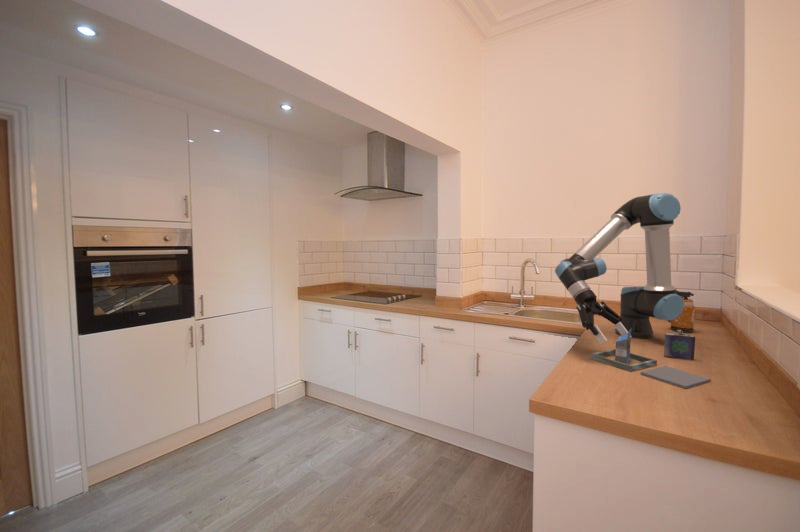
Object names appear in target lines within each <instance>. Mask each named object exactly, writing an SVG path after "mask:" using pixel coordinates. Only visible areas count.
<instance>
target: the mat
mask: <svg viewBox="0 0 800 532" xmlns="http://www.w3.org/2000/svg"><path fill="white" fill-rule="evenodd" d="M640 375H641V376H644V377H648V378H651V379H653V380H657V381H660V382H663V383H665V384H668V385H669V384H670V385H672V386H676V387H678V388H681V389H685V390H686V389H690V388H693V387H696V386H700V385H704V384H707V383H710V382H711V380H712V378H709V377H705V376H702V375H699V374H695V373H691V372H688V371H685V370H681V369H678V368H674V367H670V366H668V365H664V366H660V367H656V368H651V369H648V370H644V371H640ZM709 381H710V382H709ZM706 382H707V383H706Z"/></svg>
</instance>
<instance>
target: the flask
mask: <svg viewBox="0 0 800 532" xmlns="http://www.w3.org/2000/svg"><path fill="white" fill-rule="evenodd" d="M677 331H678V332H677ZM677 331H676V333H665V334H664V346H663V347H664V350H663V357H665V358H670V359H677V358H679V360H681V359H682V360H687V359H689V361H694V360H695V346H696V336H694V335H692V334H690V333H687V334H686V333H684V332H681V331H682V330H677Z"/></svg>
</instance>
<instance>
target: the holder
mask: <svg viewBox="0 0 800 532" xmlns="http://www.w3.org/2000/svg"><path fill="white" fill-rule="evenodd" d="M615 349H616V348H614V349H608V350H604V351H599V352H592V353H590V354H589V357H590V358H589V359H591V360H593V361H596V362H599V363H603V364H605V363H606V364H605V365H608V364H609V366H611V365H612V367H615V368H618V369H622V370H624V371H628V372H633V371H639V370H642V369H647V368H651V367H655V366H658V360H657V359H654V358H649V357H646V356H644V355H641V354H635V353H633V352H630V360H634V361H637V360H638V363H637V362H636V363H633V364H629V363H628V364H624V363H621V362H618V361H615V359H611V358H608V357H611V355H612V356H615ZM606 356H607V357H606Z"/></svg>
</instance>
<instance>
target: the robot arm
mask: <svg viewBox="0 0 800 532" xmlns="http://www.w3.org/2000/svg"><path fill="white" fill-rule="evenodd" d="M680 203H681V202H680V201H679V199H678V198H677V197H676V196H675V195H674V194H672V193H667V192H659V193H658V192H657V193H654V194H646V195H643V196H640V195H639V196H637V197H633V198H632V199H630V200H628V201H626V202H625V203H624V204H622V205H621V206H620V207H619V208H617V209H616V210H615V211H614V212H613V213H612V214H611V215H610V219H609V220H608V221H607V222H606V223H605V224H604V225H603V226H601V228H599V230H598V231H597V232H596V233H594V234H593V236H591V237H590V238H589V239H587V241H586V242H585V243H584V244H583V245H582V246H581V247H580V248H579V249H577V251H575V253H573V254H572V255H571V256H570V257H569V258H564V259H562V260H561V261H560V262H559V264H557V266H556V267H555V269H554V273H555V274H556V276H557V278H558V280H559V281H560V282H561V283H562V285H563V287H565V289H566V290H567V291H568V293H569V295H570V296H571V297H572V298H573V299H574V301H575V303H576V304H577V306H576V307H575V308H576V309H577V312H578V315H579V318H580V321H581V325H582V327H583V328H584V329H586V330H587V331H588V330H590V331H591V333H592V335H593V336H594V337H595V338H596V340H597V341H598V342H599V344H600V345H603V344H605V343H606V342H607V341H608V338H606V336H605V335H604V334H603V332H602V331H601V329H600V328H599V327H598V325H597V324H595V315H596V316H599V317H602V318H604V319H605V320H607V321H609V322H610V323H612V324H614V325H613V326H614V329H615V333H616V334H617V335H619V334H620V336H624V335H628V332H629V330H630V329H631V328H632V329H631V338H635V339H652V338H653V337H654V330H653V327H652V323H651V321H650V318H655V319H657V320H661V321H667V320H673V319H675V318H677V317H678V316H679V314H681V312H682V311H683V308H684V301H683V299H682V298H681V297H680V296H679V295H677V294H676V291H677V288H676V286H674V285H673V284H672V265H671V261H672V260H671V240H670V239H671V237H670V235H671V234H670V229H671V227H672V226H673V225H675V222H674V221H675V220H676V219H677V218H678V217H679V215H680V214H681V211H682V210H681V204H680ZM639 223H640V224H639ZM636 224H639V225H640V226H639V227H640V228H641V229H643V230H644V238H645V239H644V243H645V262H646V263H645V265H646V267H645V268H646V269H645V270H646V271H645V272H646V285H645V286H624V287H622V288H621V291H620V311H619V314H620V315H619V314H618V313H617V312H616V311H614V310H613V309H611V307H609V306H608V305H607V304H606V303H605V301H601V302H600V303H599V302H598V301H597V295H596V294H595V292H594V291H593V290H592V289H591V286H589V284H588V283H587V282H586V281H587V280H591V279H594V278H598V277H600V276H602V275H604V274H606V272H607V269H608V268H607V264H606V262H605V261H604V259H602V258H601V257H597V256H598V255H599V254H600V253H601V252H603V250H604V249H606V248H607V247H608V246H609V245H610V244H611V243H612V242H614V240H615V239H616V238H618V236H620V234H621V233H623V232H624V231H625V230H626V231H627V230H630V228H631V227H633V226H635V225H636ZM629 334H630V333H629Z"/></svg>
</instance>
